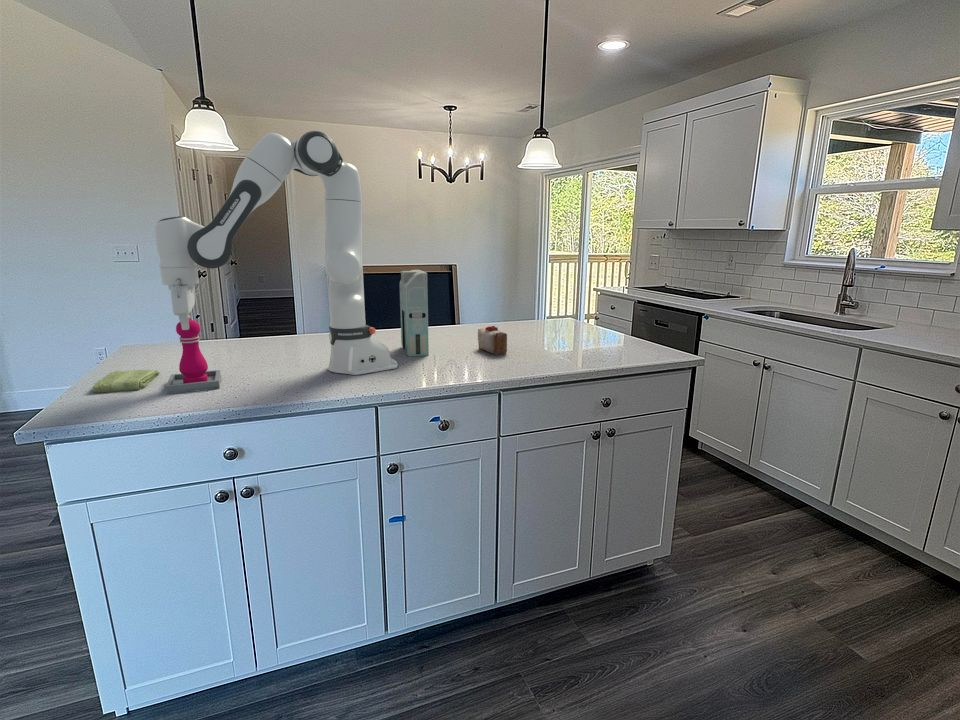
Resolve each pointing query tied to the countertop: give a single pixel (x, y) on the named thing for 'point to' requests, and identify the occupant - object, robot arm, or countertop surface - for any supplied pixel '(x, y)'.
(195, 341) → the pepper mill
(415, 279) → the device
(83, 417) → the countertop surface
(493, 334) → the food item
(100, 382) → the washcloth
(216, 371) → the slate tray
